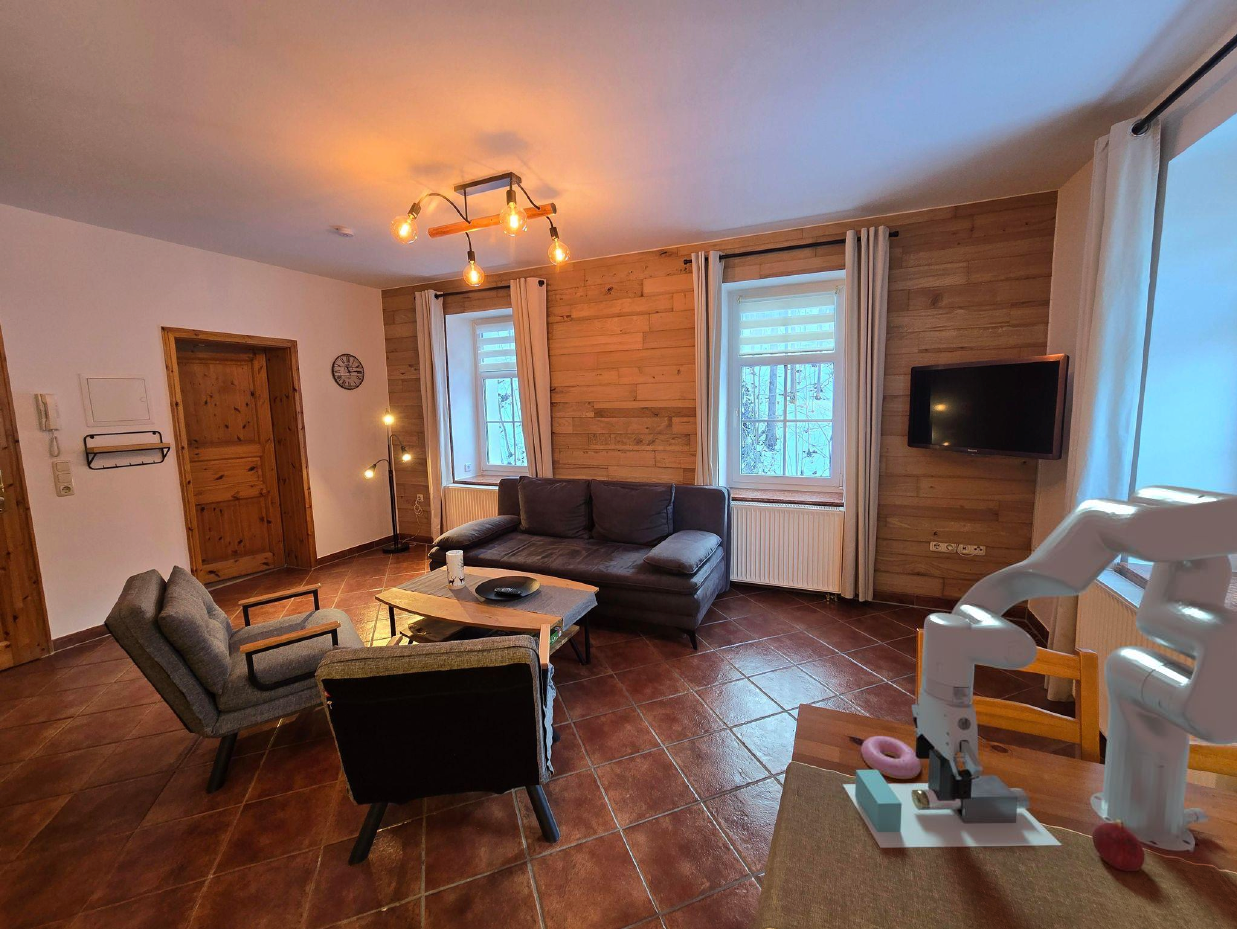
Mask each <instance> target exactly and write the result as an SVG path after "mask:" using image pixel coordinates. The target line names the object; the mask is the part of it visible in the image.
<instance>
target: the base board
mask: <svg viewBox="0 0 1237 929" xmlns="http://www.w3.org/2000/svg"><path fill="white" fill-rule="evenodd" d="M887 784H888V785H889V787H890V788H891V789H892V791H893V792H894V793H895V795H896V796H897V798H898V799H899V800H900V802H901V803H902V806H901V832H877V831H876V829H875V828H874V826H873V824H872V823H871V821H870V819H869V818H868V816H867V815H866V813H865V811H864V810H863V808H862V806H861V805H860V803H859V802H858V800H857V798H856V797H855V786H856V783H854V784H853V783H850V784H848V783H846V784H844V783H843V784H842V786H843V788H844V789H845V791H846V792H847V794H848V795H849V797H850V799H851V801H852V802H853V804H854V806H855V808H856V809H857V811H858V812H859V814H860V816H861V818H862V820H863V821H864V822H865V824H866V826H867V827H868V829H869V831H870V832H871V834H872V836H873V837H874V839H875V841H876V843H877V844H878V846H879V847H880V848H882V849H884V848H889V849H891V848H893V849H894V848H946V847H947V848H950V847H953V848H957V847H959V848H960V847H961V848H962V847H964V848H965V847H967V848H968V847H1022V846H1023V847H1025V846H1027V847H1028V846H1031V847H1032V846H1033V847H1035V846H1036V847H1037V846H1038V847H1039V846H1041V847H1043V846H1046V847H1047V846H1063V845H1062V843H1060V842H1059V840H1057V839H1056V837H1055V836H1054V835H1052V833H1051V832H1049V831H1048V829H1047V828H1045V827H1044V826H1043V825H1042V824H1041V822H1039V821H1038V820H1037V819H1036V818H1035V817H1034V816H1033V815H1032V814H1031V813H1030V812H1029V811H1028V810H1027V809H1017V815H1016V823H972V824H964V823H963V821H962V820H961V819H960V818H959V817H958V815H957V814H956V813H955V812H954V811H953V810H918V809H917V808H916V807H915V805H914V803H913V800H912V796H911V792H912V790H929V789H928V782H927V783H926V782H925V783H922V782H919V783H918V782H916V783H915V782H914V783H913V782H912V783H909V782H908V783H887Z"/></svg>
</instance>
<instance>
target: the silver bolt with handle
mask: <svg viewBox="0 0 1237 929" xmlns="http://www.w3.org/2000/svg"><path fill="white" fill-rule="evenodd" d="M958 763H959V762H957V764H958ZM958 765H959V764H958ZM951 775H954V773H953V770H952V767H951V764H950V761H949V760H948V759H946V758H945V757H944V756H943V755H942V754H941V753H940V752H939V751H938V750H937V749H935V750H930V754H929V759H928V779H927V781H928V782H927V783H928V789H929V790H912V792H911V796H912V800H913V803H914V805H915V807H916V808H917V809H918V810H954V809H963V799H953V798H952V797H951V796H950V782H951ZM1008 788H1009V789H1010V790H1012V791H1013V792H1014V793H1015V794H1016V795H1017V796H1018V799H1017V809H1026V810H1027V809H1029V808H1030V800H1029V797H1028V795H1027V794H1026V792H1025V791H1024V790H1023V789H1022V788H1017V787H1016V788H1015V787H1014V788H1013V787H1012V788H1011V787H1008Z"/></svg>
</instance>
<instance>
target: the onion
mask: <svg viewBox="0 0 1237 929" xmlns="http://www.w3.org/2000/svg"><path fill="white" fill-rule="evenodd" d="M1091 839H1092V843H1093V846H1094V848H1095V850H1096V851H1097V853H1098V854H1099V856H1100V857H1101V858H1102V859H1103V860H1104V862H1106V863H1107V864H1108V865H1110V866H1112V867H1113V868H1115V869H1118V870H1121V871H1124V872H1134V871H1137V870H1140V869H1141V868H1142V867H1143V865H1144V863H1145V857H1146V856H1145V850H1144V848H1143V846H1142V843H1141V841H1139V840H1138V839H1137V838H1136V837H1135V835H1134V834H1133V833H1131V832H1130V831H1129V830H1128V829H1127V828H1125V827H1124V825H1123V822H1122V821H1121V820H1119V819H1117V820H1116V821H1115V822H1114V823H1108V822H1104V823H1101V824H1099V825H1097V826H1096V827H1095V829H1094V830H1093V831H1092V835H1091Z"/></svg>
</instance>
